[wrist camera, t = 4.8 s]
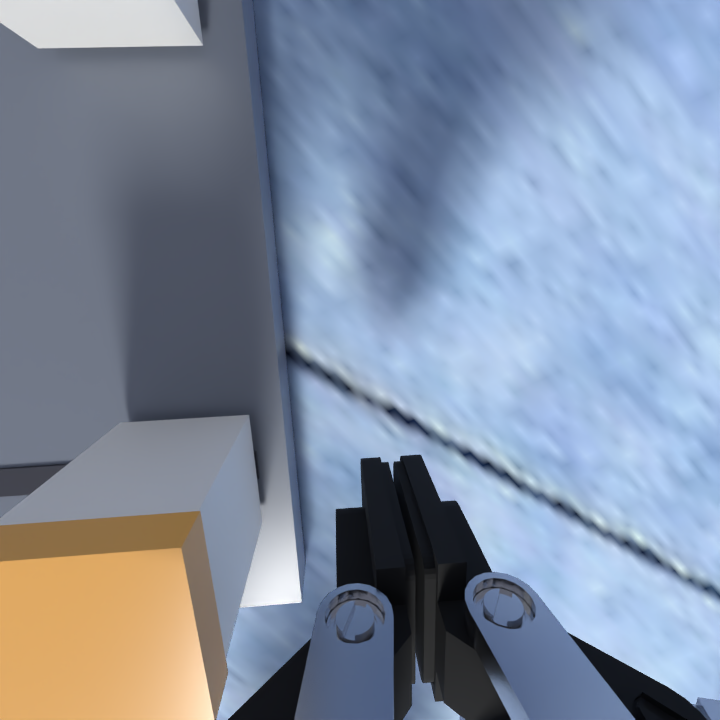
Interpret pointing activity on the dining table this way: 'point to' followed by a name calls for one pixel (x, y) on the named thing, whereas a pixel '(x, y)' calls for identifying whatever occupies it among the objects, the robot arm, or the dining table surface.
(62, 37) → the block
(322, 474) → the dining table surface
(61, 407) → the console
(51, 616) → the fader orange
